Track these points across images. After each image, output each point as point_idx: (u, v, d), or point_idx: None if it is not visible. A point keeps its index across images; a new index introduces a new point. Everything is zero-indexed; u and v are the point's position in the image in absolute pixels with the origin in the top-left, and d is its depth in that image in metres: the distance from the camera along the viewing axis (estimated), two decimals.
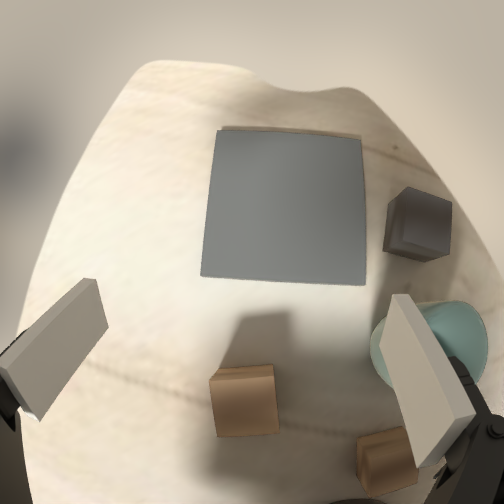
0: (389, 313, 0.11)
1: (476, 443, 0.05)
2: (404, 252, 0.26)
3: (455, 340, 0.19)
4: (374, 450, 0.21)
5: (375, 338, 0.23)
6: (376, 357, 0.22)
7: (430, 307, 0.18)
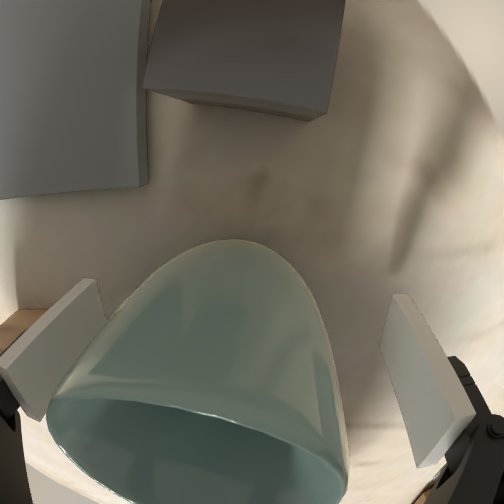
0: (389, 313, 0.11)
1: (476, 443, 0.05)
2: (225, 104, 0.10)
3: None
4: None
5: None
6: None
7: (87, 366, 0.05)
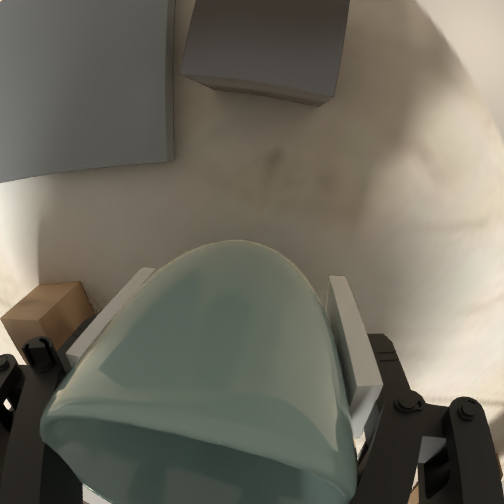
0: (327, 294, 0.13)
1: (383, 420, 0.06)
2: (246, 90, 0.11)
3: None
4: None
5: None
6: None
7: (79, 382, 0.04)
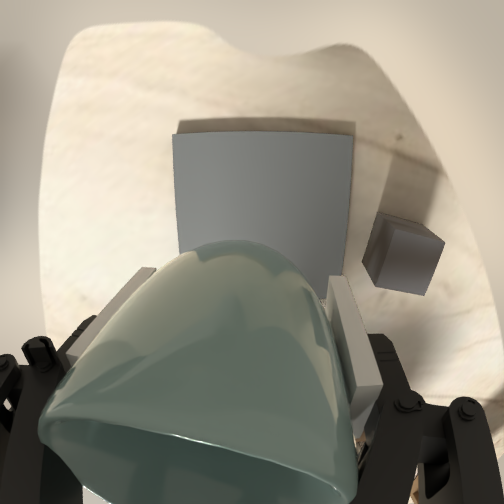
0: (327, 294, 0.13)
1: (383, 420, 0.06)
2: None
3: None
4: None
5: None
6: None
7: (77, 383, 0.04)
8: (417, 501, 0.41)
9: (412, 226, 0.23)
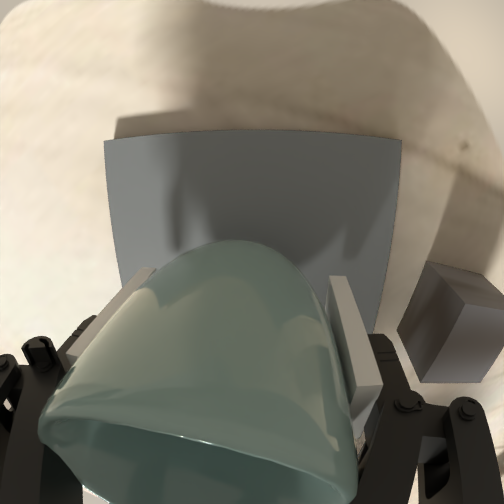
0: (327, 294, 0.13)
1: (383, 420, 0.06)
2: None
3: None
4: None
5: None
6: None
7: (76, 382, 0.04)
8: None
9: (477, 285, 0.13)
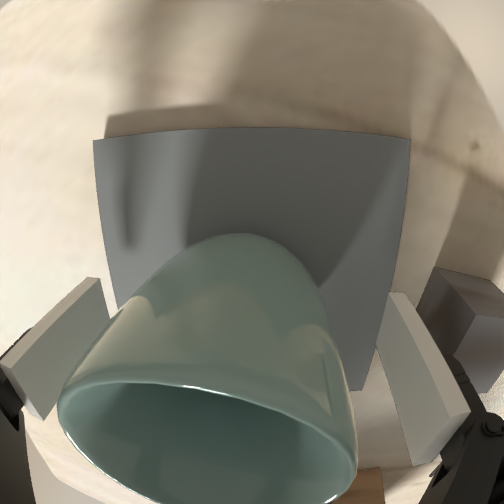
0: (385, 311, 0.12)
1: (471, 441, 0.05)
2: None
3: None
4: (341, 501, 0.20)
5: None
6: None
7: (102, 352, 0.05)
8: None
9: (486, 293, 0.12)
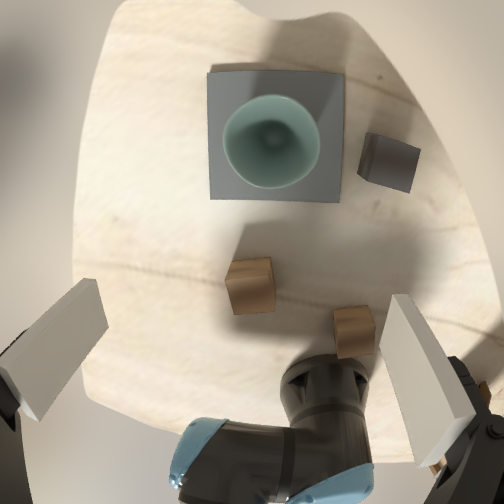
0: (389, 313, 0.11)
1: (476, 443, 0.05)
2: None
3: (298, 131, 0.24)
4: (342, 324, 0.38)
5: None
6: None
7: None
8: None
9: None
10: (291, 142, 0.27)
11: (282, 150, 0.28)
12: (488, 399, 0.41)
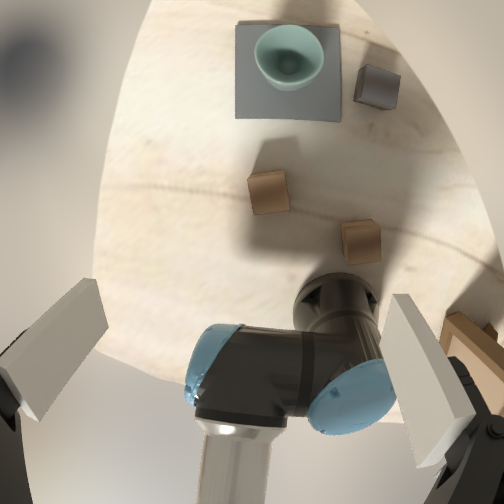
0: (389, 313, 0.11)
1: (476, 443, 0.05)
2: (367, 103, 0.37)
3: (307, 53, 0.30)
4: (350, 229, 0.42)
5: None
6: None
7: None
8: None
9: None
10: (302, 64, 0.32)
11: (295, 72, 0.33)
12: (495, 337, 0.46)
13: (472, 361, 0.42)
